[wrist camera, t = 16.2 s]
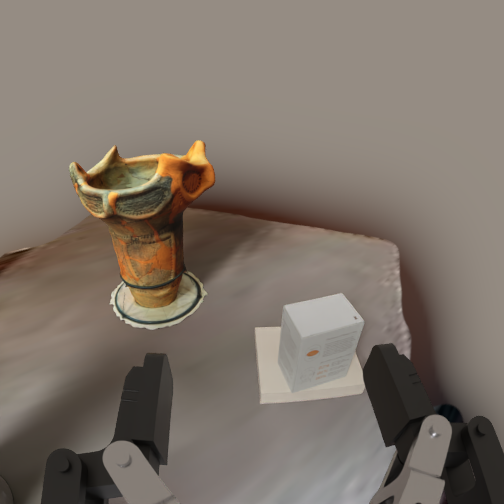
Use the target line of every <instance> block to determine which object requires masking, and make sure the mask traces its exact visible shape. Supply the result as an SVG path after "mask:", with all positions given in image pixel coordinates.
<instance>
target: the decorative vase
mask: <svg viewBox="0 0 504 504" xmlns="http://www.w3.org/2000/svg"><path fill="white" fill-rule="evenodd" d="M69 171H70V177H71V179H72V182H73V185H74V188H75V190H76V192H77V194H78V196H79V197H80V200H81V202H82V204H83V205H84V207H85V208H86V209H87V210H88V211H89V212H90V213H91V214H92V215H93V216H95V217H97V218H99V219H101V220H102V221H104V222H105V223H106V224H107V225H108V227H109V232H110V234H111V236H112V241H113V245H114V249H115V252H116V255H117V258H118V262H119V266H120V269H121V272H120V277H121V279H122V280H123V282H122V283H121V284H120V285H118V288H116V289H115V291H114V292H112V294H111V297H112V299H111V300H110V301H111V303H110V304H113V305H114V307H113V308H114V309H113V311H115V312H116V315H117V317H118V316H120V320H125V323H126V324H131V325H132V327H139V328H143V327H145V328H147V329H150V330H155V329H157V328H164V327H165V326H169V327H171V326H172V325H173V324H178V323H180V322H181V321H182V320H183V319H185V318H186V317H187V316H189V315H191V314H193V313H194V312H195V310H196V309H198V308H199V305H200V303H202V302H204V301H203V297H204V296H205V295H208V294H207V292H206V291H205V290H204V289H203V288H202V287H203V284H202V283H201V282H199V278H195V275H193V274H192V273H191V272H189V271H187V270H186V267H185V264H184V257H183V211H184V210H185V209H186V208H187V207H188V205H190V204H191V203H192V202H193V201H194V200H195V199H197V198H198V197H199V196H200V195H201V194H202V193H203V192H204V191H206V190H207V189H209V188H210V187H212V186H213V185H214V183H215V173H214V169H213V166H212V165H211V164H210V163H209V162H208V160H207V158H206V156H205V143H204V142H202V141H200V140H199V141H196V142H195V143H194V145H193V146H192V147H191V148H190V150H189V152H188V153H187V155H172V154H166V153H164V154H157V155H144V156H139V157H134V158H129V159H124V158H121V157H120V156H119V154H118V151H117V147H116V145H115V146H113V148H112V149H111V150H110V151H109V152H108V153H107V154H106V156H105V157H104V159H103V160H101V162H99V163H98V164H97V165H95V166H94V167H93V168H92V169H91V170H89V171H88V172H85V171H84V170H83V168H82V167H81V166H80V165H79V164H78V163H76V162H73V163H71V164H70V167H69Z"/></svg>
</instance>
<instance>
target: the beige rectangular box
mask: <svg viewBox="0 0 504 504" xmlns="http://www.w3.org/2000/svg"><path fill="white" fill-rule="evenodd" d="M280 334H281V327H256V328H255V350H256V362H257V373H258V385H259V396H260V404H268V403H284V402H297V401H308V400H318V399H327V398H336V397H343V396H351V395H358V394H362V393H363V391H364V389H365V384H364V381H363V371H362V368H361V366H360V363H359V360H358V357H357V355H356V352H355V353H354V356H353V358H352V361H351V364H350V367H349V369H348V372H347V375H346V376H345V377H343V378H340V379H337V380H334V381H331V382H328V383H324V384H321V385H318V386H315V387H311V388H308V389H305V390H301V391H298V392H294V393H291V390H290V388H289V386H288V384H287V382H286V380H285V378H284V376H283V374H282V371H281V369H280V367H279V365H278V353H279V344H280Z"/></svg>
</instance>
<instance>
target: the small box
mask: <svg viewBox="0 0 504 504" xmlns="http://www.w3.org/2000/svg"><path fill="white" fill-rule="evenodd" d="M364 323H365V321H364V320H363V319H362V317H361V316H360V315H359V313H358V312H357V311H356V310H355V308H354V307H353V306H352V305H351V303H350V302H349V301H348V300H347V298H346V297H345V296H344V295H343V293H339V294H334V295H330V296H326V297H321V298H317V299H312V300H307V301H303V302H298V303H293V304H288V305H284V306H283V315H282V325H281V334H280V344H279V353H278V365H279V367H280V369H281V371H282V374H283V376H284V378H285V380H286V382H287V384H288V386H289V388H290V390H291V393H294V392H298V391H301V390H305V389H308V388H311V387H315V386H318V385H321V384H324V383H328V382H331V381H334V380H337V379H340V378H343V377H345V376H346V375H347V372H348V369H349V367H350V364H351V361H352V358H353V356H354V353H355V350H356V347H357V344H358V341H359V338H360V335H361V332H362V329H363V326H364Z"/></svg>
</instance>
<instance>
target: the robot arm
mask: <svg viewBox="0 0 504 504" xmlns="http://www.w3.org/2000/svg"><path fill="white" fill-rule="evenodd" d="M363 381H364V384H365V387H366V390H367V392H368V395H369V398H370V401H371V404H372V407H373V410H374V413H375V416H376V419H377V421H378V424H379V428H380V431H381V434H382V437H383V440H384V443H385V446H386V447H389V446H392V445H395V446H396V449H397V450H396V451H395V453H394V455H393V458H392V460H391V463H390V465H389V468H388V470H387V472H386V475H385V477H384V479H383V481H382V484H381V486H380V488H379V490H378V491H377V493H376V494H375V495H374V496H373V498H372V499H371V501H370V502H369V504H439V501H440V498H441V495H442V492H443V489H444V490H445V494H446V498H447V502H448V504H504V453H503V451H502V448H501V445H500V443H499V440H498V437H497V435H496V433H495V430H494V428H493V425H492V423H491V422H490V421H489V420H488V419H487V418H485V417H483V416H476V417H474V418H472V419H471V420H470V422H469V423H449V421H448V420H447V419H446V418H444V417H442V416H440V415H437V414H436V412H435V411H434V408H433V406H432V404H431V402H430V400H429V397H428V395H427V393H426V391H425V389H424V387H423V385H422V383H421V380H420V378H419V376H418V375H417V372H416V370H415V368H414V366H413V363H412V362H411V361H410V360H409V359H408V358H407V357H406V356H405V355H404V354H402V355H399V353H398V351H397V349H396V347H395V346H394V344H392V343H389V344H382V345H375V346H374V347H373V348H372V351H371V353H370V355H369V358H368V360H367V362H366V364H365V366H364V369H363ZM172 396H173V378H172V374H171V370H170V366H169V362H168V357H167V355H166V354H156V353H147V354H146V356H145V360H144V365H143V367H135V366H133V368H132V369H131V371H130V372H129V373H128V375H127V376H126V379H125V383H124V388H123V393H122V397H121V402H120V407H119V412H118V418H117V423H116V428H115V434H114V437H113V440H112V441H111V443H110V444H109V445H108V446H107V447H106V448H104V449H102V450H100V451H96V452H90V453H83V454H76V453H75V452H73V451H71V450H69V449H64V448H63V449H57V450H55V451H54V452H52V453H51V454H50V456H49V457H48V459H47V464H46V470H45V476H44V483H43V491H42V499H41V504H108V499H109V498H116V497H124V498H125V500H126V501H127V502H128V504H180V503H179V501H178V500H177V499H176V498H175V497H174V495H173V494H172V493H171V492H170V490H169V489H168V488H167V487H166V485H165V484H164V483H163V481H162V480H161V479H160V477H159V465H167V458H168V443H169V430H170V418H171V406H172ZM469 460H470V463H471V466H472V469H473V472H472V469H471V466H470V463H469ZM473 473H474V475H473ZM474 476H475V478H474ZM475 480H476V481H475ZM0 504H14V503H13V496H12V492H11V490H10V488H9V486H8V484H7V483H6V481H5V480H4V479H3V478H2V477H1V476H0Z"/></svg>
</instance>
